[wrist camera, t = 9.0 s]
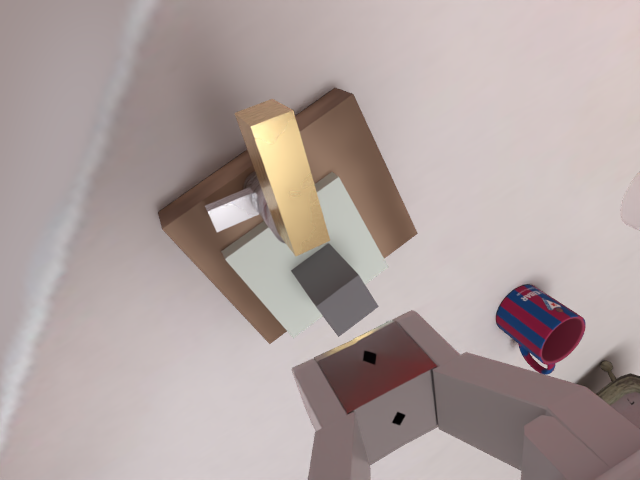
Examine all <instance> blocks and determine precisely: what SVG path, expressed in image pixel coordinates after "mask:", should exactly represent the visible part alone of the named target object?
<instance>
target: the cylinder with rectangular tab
mask: <svg viewBox="0 0 640 480" xmlns="http://www.w3.org/2000/svg"><path fill="white" fill-rule="evenodd" d="M620 211H621V218H622V221H623V222H624V223H625V224H626V225H628V226H631V227H633V228H635V229H638V230H640V172H639V173H638V174H637V175H636V176H635V178H634V179H633V180H632V181H631V183H630V185H629V187H628V188H627V190H626V192H625V195H624V197H623V200H622V204H621V209H620Z"/></svg>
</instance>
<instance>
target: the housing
mask: <svg viewBox="0 0 640 480" xmlns="http://www.w3.org/2000/svg"><path fill="white" fill-rule="evenodd" d="M295 118H296V122H297V125H298V129H299V132H300V136H301V139H302V143H303V146H304V150H305V153H306V157H307V160H308V164H309V167H310V171H311V174H312V178H313V181H314V184H316V183H317V182H318V181H320V180H321V179H323V178H324V177H325V176H327V175H328V174H330V173H331V172H333V173H334V174H336V175H337V176H339V178H340V180H341V182H342V183H343V185H344V187H345V189H346V191H347V192H348V194H349V196H350V198H351V200H352V201H353V203H354V205H355V207H356V209H357V211H358V212H359V214H360V216H361V218H362V220H363V221H364V223H365V225H366V227H367V229H368V231H369V232H370V234H371V236H372V238H373V240H374V241H375V243H376V245H377V247H378V249H379V250H380V252H381V254H382V256H383V258H386V257H387V256H388V255H390V254H391V253H392V252H394V251H395V250H396V249H398V248H399V247H400V246H402V245H403V244H404V243H406V242H407V241H408V240H410V239H411V238H412V237H414V236H415V235H416V234H418V233H417V231H416V229H415V227H414V225H413V223H412V220H411V218H410V216H409V214H408V212H407V210H406V207H405V205H404V203H403V201H402V199H401V197H400V194H399V192H398V190H397V188H396V186H395V184H394V181H393V179H392V177H391V175H390V173H389V171H388V168H387V166H386V164H385V162H384V160H383V158H382V155H381V153H380V151H379V149H378V147H377V144H376V142H375V140H374V138H373V136H372V134H371V131H370V129H369V127H368V125H367V123H366V121H365V118H364V116H363V114H362V112H361V110H360V108H359V105H358V103H357V101H356V99H355V97H354V95H353V94H352V93H349V92H346V91H343V90H340V89H337V88H334V89H333V90H331V91H330V92H329V93H327V94H326V95H324V96H323V97H321V98H320V99H319V100H317V101H316V102H314V103H313V104H311V105H310V106H309V107H307V108H306V109H304V110H303V111H302V112H300V113H299V114H297V115H296V116H295ZM253 172H255V169H254V166H253V163H252V161H251V158H250V155H249V152H248V150H246V151H245V152H243V153H242V154H240V155H239V156H237V157H236V158H235V159H233V160H232V161H230V162H229V163H227V164H226V165H225V166H223V167H222V168H220V169H219V170H218V171H216V172H215V173H213V174H212V175H210V176H209V177H208V178H206V179H205V180H203V181H202V182H200V183H199V184H198V185H196V186H195V187H193V188H192V189H190V190H189V191H188V192H186V193H185V194H183V195H182V196H180V197H179V198H178V199H176V200H175V201H173V202H172V203H171V204H169V205H168V206H166V207H165V208H163V209H162V210H161V211H159V212H158V214H159V218H160V222H161V226H162V229H163V230H164V232H165V233H166V234H167V235H168V236H169V237H170V238H171V239H172V240H173V241H174V242H175V243H176V244H177V245H178V247H179V248H180V249H181V250H182V251H183V252H184V253H185V254H186V255H187V256H188V257H189V258H190V259H191V260H192V261H193V263H194V264H195V265H196V266H197V267H198V268H199V269H200V270H201V271H202V272H203V273H204V274H205V275H206V276H207V278H208V279H209V280H210V281H211V282H212V283H213V284H214V285H215V286H216V287H217V288H218V289H219V290H220V291H221V292H222V294H223V295H224V296H225V297H226V298H227V299H228V300H229V301H230V302H231V303H232V304H233V305H234V306H235V307H236V309H237V310H238V311H239V312H240V313H241V314H242V315H243V316H244V317H245V318H246V319H247V320H248V321H249V322H250V323H251V325H252V326H253V327H254V328H255V329H256V330H257V331H258V332H259V333H260V334H261V335H262V336H263V337H264V338H265V340H266V341H267V342H268V343H269V344H271V343H272V342H273V341H275V340H276V339H277V338H279V337H280V336H281V335H283V334H284V333H285V332H287V330H286V329H285V328H284V327H283V326H282V325H281V323H280V322H279V321H278V320H277V319H276V318H275V316H274V315H273V314H272V313H271V312H270V311H269V310H268V308H267V307H266V306H265V305H264V304H263V303H262V301H261V300H260V299H259V298H258V297H257V296H256V295H255V293H254V292H253V291H252V290H251V289H250V288H249V286H248V285H247V284H246V283H245V282H244V281H243V280H242V278H241V277H240V276H239V275H238V274H237V273H236V271H235V270H234V269H233V268H232V267H231V266H230V265H229V263H228V262H227V261H226V260H225V258H224V256H223V254H222V252H221V251H223V250H224V249H225V248H227V247H228V246H230V245H231V244H232V243H234V242H235V241H236V240H238V239H239V238H241V237H242V236H243V235H245V234H246V233H248V232H249V231H250V230H252V229H253V228H255V227H256V226H257V225H259V224H260V223H261V222H263V221H264V220H263V219H262V217H261V216H260V215H256V216H254V217H252V218H249V219H247V220H245V221H242V222H240V223H238V224H236V225H233V226H231V227H229V228H226V229H224V230H222V231H219V232H217V231H216V229H215V227H214V225H213V223H212V221H211V218H210V216H209V214H208V212H207V210H206V207H205V205H208V204H210V203H213V202H215V201H217V200H220V199H222V198H225V197H227V196H229V195H232V194H234V193H237V192H239V191H242V190H244V182H245V180H246V178H247V177H248V176H249V175H250V174H251V173H253Z"/></svg>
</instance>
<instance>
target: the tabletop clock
mask: <svg viewBox="0 0 640 480" xmlns="http://www.w3.org/2000/svg"><path fill="white" fill-rule="evenodd" d="M601 369H602V370H604V371H606V372H608V374H609V377H610V379H611V381H612V382H611V383H610V384H608V385H607V386H606V387H605V388H603V389H602V390H601V391H599V392H598V393H597V394H596V395H597V396H598V397H600V398H601V399H602V400H604V401H605V402H606V403H607V404H609V405H610V406H611V407H612V408H614V409H615V410H616V411H617V412H619V413H620V414H621V415H622V416H624V417H625V418H626V419H627V420H629V421H630V422H631V423H632V424H634V425H635V426H636V427H638V428H639V429H640V376H637V375H634V374H627V375H624V376H621V377H619V378H617V379H616V377H615V376H614V375H613V373H612V372H611V370H612V369H613V366H612V364H611V363H610V362H608V361H603V362H602V363H601Z"/></svg>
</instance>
